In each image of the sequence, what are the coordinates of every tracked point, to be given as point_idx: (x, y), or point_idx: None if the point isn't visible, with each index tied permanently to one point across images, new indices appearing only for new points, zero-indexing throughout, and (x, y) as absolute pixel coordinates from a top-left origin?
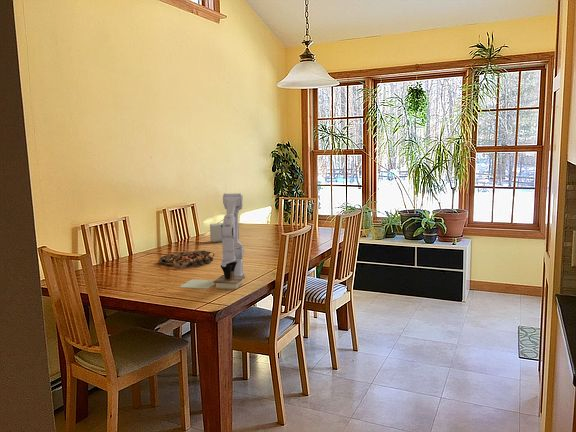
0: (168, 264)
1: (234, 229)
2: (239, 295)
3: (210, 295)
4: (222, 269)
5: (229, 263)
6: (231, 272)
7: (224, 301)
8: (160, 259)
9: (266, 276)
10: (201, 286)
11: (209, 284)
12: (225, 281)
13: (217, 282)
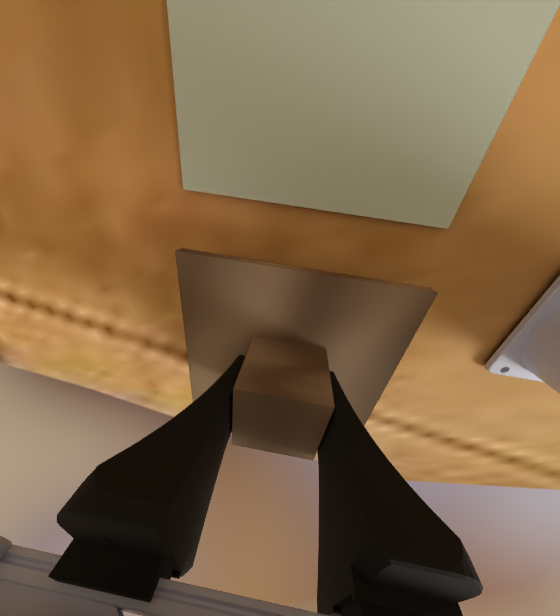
0: None
1: None
2: (138, 389)
3: (65, 257)
4: (154, 431)
5: (346, 568)
6: (248, 443)
7: (31, 345)
8: None
9: (474, 470)
10: (232, 82)
11: (313, 163)
12: (204, 351)
13: (184, 289)
